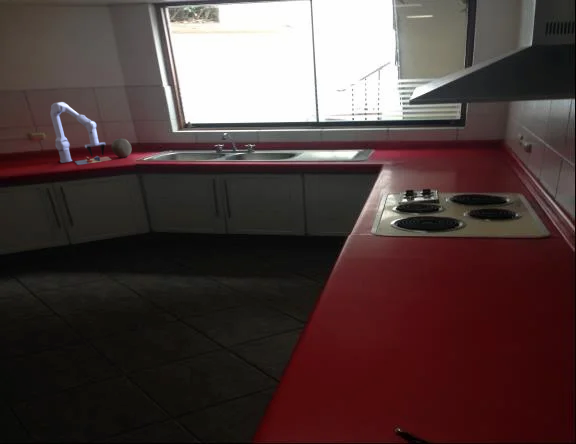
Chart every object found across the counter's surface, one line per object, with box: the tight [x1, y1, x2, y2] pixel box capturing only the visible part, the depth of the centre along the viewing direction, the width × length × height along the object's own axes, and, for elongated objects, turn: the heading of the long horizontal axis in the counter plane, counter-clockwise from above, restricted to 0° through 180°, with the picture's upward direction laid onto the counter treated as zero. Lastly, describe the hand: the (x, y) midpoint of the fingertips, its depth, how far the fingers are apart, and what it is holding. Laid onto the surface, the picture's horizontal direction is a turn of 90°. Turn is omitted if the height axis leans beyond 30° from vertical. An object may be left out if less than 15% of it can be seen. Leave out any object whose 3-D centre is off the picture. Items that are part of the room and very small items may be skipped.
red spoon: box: [86, 156, 93, 164], centre depth 316 cm, size 11×4×3 cm, turn 33°
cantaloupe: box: [111, 138, 132, 159], centre depth 321 cm, size 14×14×15 cm
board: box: [74, 156, 113, 166], centre depth 318 cm, size 16×24×1 cm, turn 123°
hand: (97, 155), depth 318 cm, fingers open, 7 cm apart
